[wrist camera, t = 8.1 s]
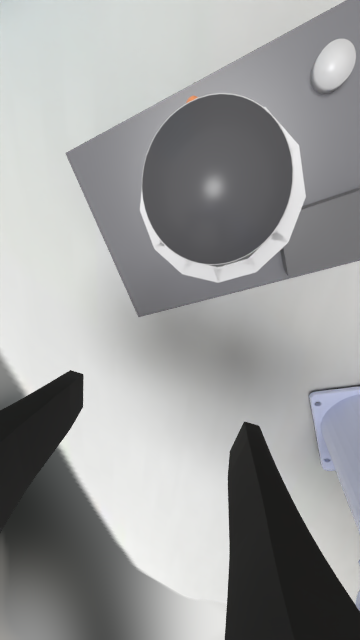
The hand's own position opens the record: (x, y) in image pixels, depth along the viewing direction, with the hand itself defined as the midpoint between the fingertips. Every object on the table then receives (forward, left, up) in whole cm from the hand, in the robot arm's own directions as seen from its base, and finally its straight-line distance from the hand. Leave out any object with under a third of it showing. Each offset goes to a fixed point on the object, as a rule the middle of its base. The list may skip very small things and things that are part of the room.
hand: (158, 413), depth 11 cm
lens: (+8, -5, -7) cm, 11 cm away
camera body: (+7, -4, -10) cm, 13 cm away
